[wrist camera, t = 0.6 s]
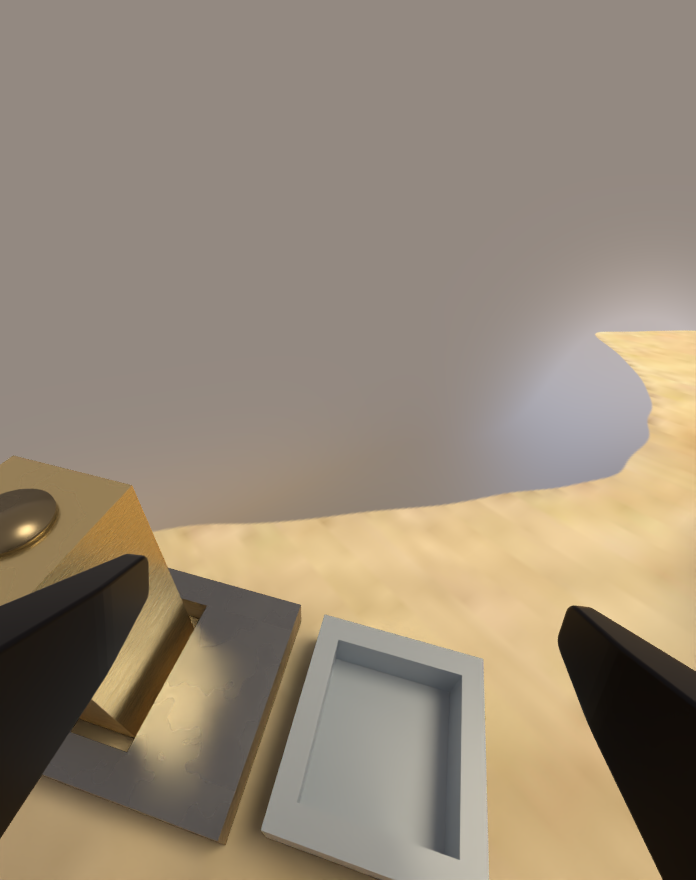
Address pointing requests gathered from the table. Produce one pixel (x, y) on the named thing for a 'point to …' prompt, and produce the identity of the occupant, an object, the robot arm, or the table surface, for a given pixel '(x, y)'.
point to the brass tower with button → (83, 547)
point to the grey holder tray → (197, 715)
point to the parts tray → (386, 759)
